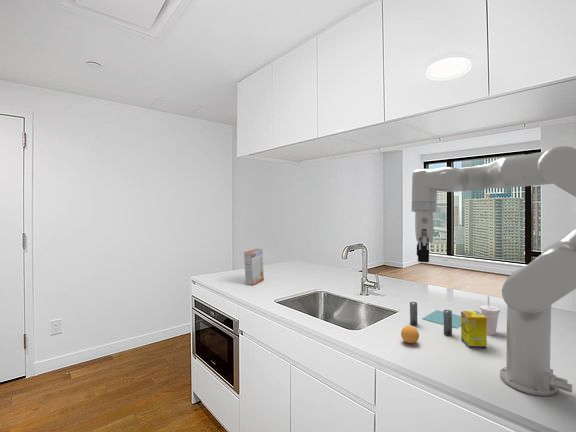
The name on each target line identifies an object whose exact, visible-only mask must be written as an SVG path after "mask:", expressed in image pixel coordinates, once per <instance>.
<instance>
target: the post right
mask: <svg viewBox="0 0 576 432" xmlns="http://www.w3.org/2000/svg"><path fill="white" fill-rule="evenodd" d="M443 312H444V325H443V335H444V336H446V337H452V336H453V327H452V314H453V311H452V310H450V309H444V310H443Z"/></svg>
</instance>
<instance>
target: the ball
mask: <svg viewBox="0 0 576 432" xmlns="http://www.w3.org/2000/svg"><path fill="white" fill-rule="evenodd" d="M400 336H401V338H402V340H403V341H404V342H405V343H408V344H412V345H413V344H415V343H417V342H418V341H419V338H420V333H419V331H418V329H417V328H416V326H412V325H406V326H404V327H402V329H401V331H400Z"/></svg>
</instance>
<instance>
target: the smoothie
mask: <svg viewBox="0 0 576 432" xmlns="http://www.w3.org/2000/svg"><path fill="white" fill-rule="evenodd" d="M479 310H480V313H481V314H482V315H483V316H485V317H486V318H487V336H488V335H489V336H495V335H496V333H497V328H498V322H499V315H500V312H501V309H500V308H499V306H498V307H497V306H496V305H495V306H494V305H491V304H490V296H487V304H483V305H480V306H479Z"/></svg>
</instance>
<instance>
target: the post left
mask: <svg viewBox="0 0 576 432" xmlns="http://www.w3.org/2000/svg"><path fill="white" fill-rule="evenodd" d="M409 326H413V327H417V326H418V302H416V301H410V302H409Z"/></svg>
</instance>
